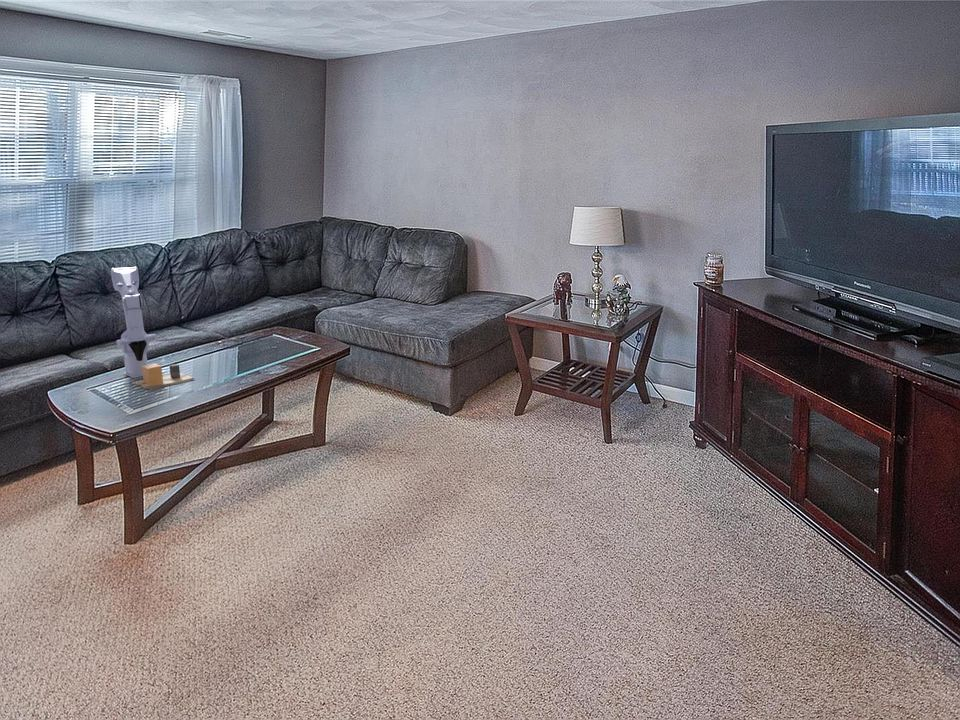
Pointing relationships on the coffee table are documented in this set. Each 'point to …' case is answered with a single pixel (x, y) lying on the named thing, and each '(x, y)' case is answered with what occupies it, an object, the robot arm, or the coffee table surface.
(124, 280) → the robot arm
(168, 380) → the post board
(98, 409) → the coffee table surface
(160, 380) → the orange rectangular block
